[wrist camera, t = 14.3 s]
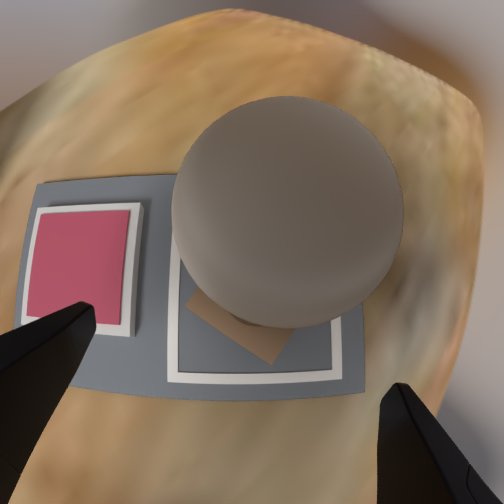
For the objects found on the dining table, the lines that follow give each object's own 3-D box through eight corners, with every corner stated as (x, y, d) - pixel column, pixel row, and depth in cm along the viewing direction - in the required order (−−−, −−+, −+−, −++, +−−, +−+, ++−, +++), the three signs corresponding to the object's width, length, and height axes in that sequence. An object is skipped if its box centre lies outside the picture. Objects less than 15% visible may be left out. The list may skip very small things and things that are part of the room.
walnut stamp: (265, 361, 17) (381, 422, 3) (192, 312, 18) (54, 193, 4) (312, 289, 18) (485, 141, 4) (241, 243, 19) (257, 12, 5)
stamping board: (361, 390, 17) (372, 394, 16) (18, 372, 16) (3, 373, 15) (345, 182, 21) (353, 169, 20) (40, 187, 20) (29, 176, 19)
